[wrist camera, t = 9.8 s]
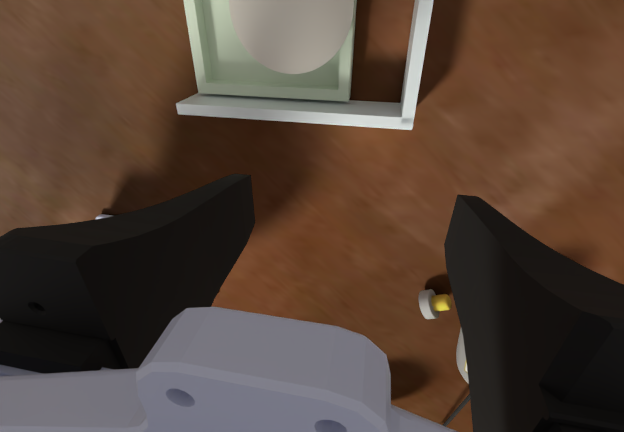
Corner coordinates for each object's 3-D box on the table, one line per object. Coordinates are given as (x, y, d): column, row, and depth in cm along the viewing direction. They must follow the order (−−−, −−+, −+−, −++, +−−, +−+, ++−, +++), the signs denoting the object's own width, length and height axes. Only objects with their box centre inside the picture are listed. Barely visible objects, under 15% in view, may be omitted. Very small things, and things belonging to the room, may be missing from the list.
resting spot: (207, 88, 22) (198, 93, 21) (179, -104, 17) (165, -110, 16) (350, 96, 20) (348, 101, 19) (364, -111, 15) (362, -119, 14)
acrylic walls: (202, 101, 22) (177, 114, 20) (173, -79, 17) (137, -93, 15) (409, 113, 20) (412, 129, 18) (441, -87, 15) (451, -104, 13)
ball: (225, 70, 18) (259, 90, 14) (206, -64, 15) (240, -92, 11) (319, 61, 20) (374, 76, 16) (318, -59, 17) (384, -81, 13)
